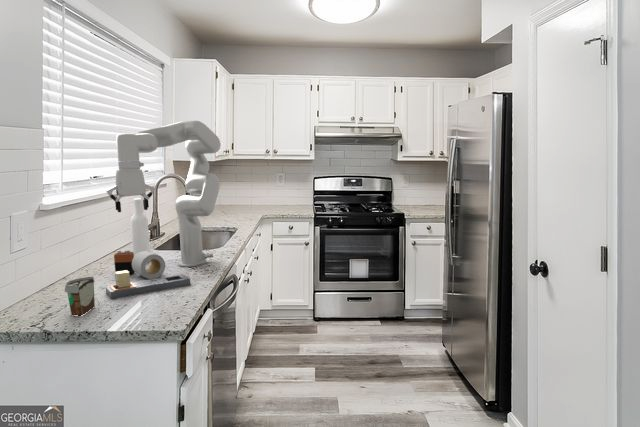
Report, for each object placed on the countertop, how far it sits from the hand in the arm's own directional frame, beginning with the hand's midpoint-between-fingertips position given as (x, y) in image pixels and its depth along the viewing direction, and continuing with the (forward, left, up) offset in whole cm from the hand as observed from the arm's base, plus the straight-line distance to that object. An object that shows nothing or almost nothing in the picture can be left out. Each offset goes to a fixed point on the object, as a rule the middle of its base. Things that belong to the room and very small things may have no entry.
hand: (132, 210), depth 177 cm
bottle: (-11, -40, -28) cm, 50 cm away
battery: (+1, -18, -28) cm, 34 cm away
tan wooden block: (+8, +13, -28) cm, 32 cm away
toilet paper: (-6, -7, -29) cm, 30 cm away
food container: (+24, +26, -28) cm, 45 cm away
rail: (-1, +13, -28) cm, 31 cm away
